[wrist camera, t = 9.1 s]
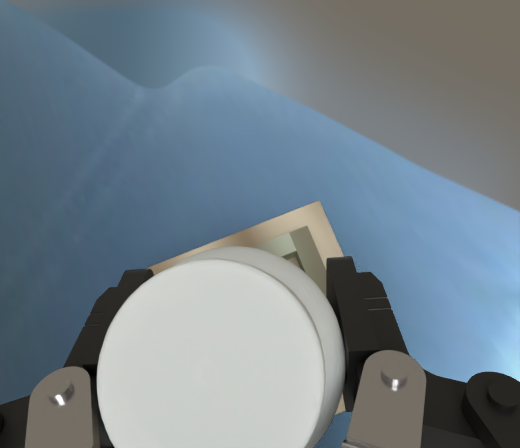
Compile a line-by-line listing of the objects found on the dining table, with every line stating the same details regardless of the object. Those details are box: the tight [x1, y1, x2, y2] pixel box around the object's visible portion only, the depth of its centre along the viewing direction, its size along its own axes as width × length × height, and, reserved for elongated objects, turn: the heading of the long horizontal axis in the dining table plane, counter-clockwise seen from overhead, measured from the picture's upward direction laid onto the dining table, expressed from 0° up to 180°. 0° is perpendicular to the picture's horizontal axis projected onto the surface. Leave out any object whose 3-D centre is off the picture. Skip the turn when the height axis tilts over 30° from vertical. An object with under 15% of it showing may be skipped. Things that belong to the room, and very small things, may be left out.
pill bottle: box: [97, 246, 346, 448], centre depth 12 cm, size 5×5×10 cm
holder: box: [146, 201, 346, 415], centre depth 26 cm, size 13×13×4 cm
